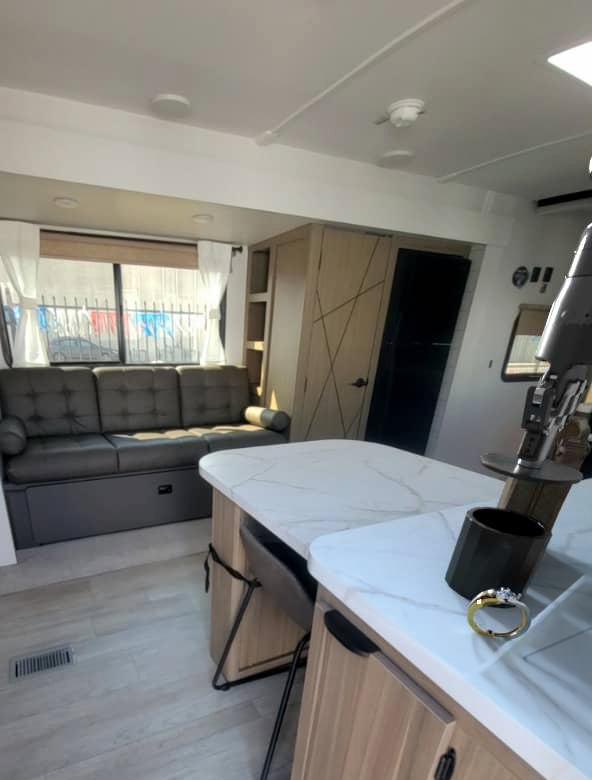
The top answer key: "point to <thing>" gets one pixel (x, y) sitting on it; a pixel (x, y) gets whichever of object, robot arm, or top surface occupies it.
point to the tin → (496, 553)
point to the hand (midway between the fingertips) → (532, 457)
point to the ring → (502, 597)
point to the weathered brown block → (548, 497)
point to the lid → (533, 466)
